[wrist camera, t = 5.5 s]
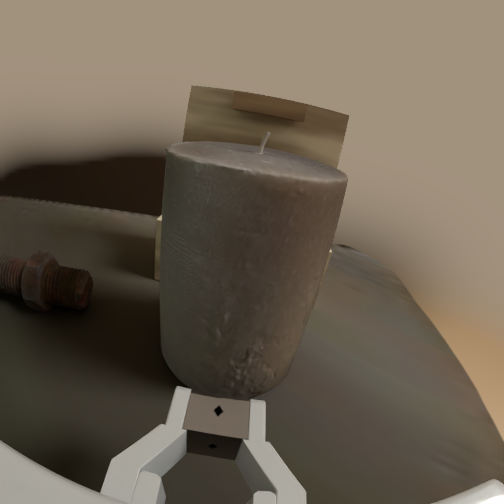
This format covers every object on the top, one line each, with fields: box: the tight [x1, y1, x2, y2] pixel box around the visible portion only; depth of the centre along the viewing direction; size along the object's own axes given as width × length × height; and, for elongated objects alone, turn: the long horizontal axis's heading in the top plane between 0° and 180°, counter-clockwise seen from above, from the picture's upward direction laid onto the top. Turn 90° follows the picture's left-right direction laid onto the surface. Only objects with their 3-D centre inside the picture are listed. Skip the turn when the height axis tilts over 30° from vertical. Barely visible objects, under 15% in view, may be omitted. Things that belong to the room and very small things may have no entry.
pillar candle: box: [159, 132, 348, 398], centre depth 18 cm, size 10×10×15 cm
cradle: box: [155, 86, 349, 308], centre depth 27 cm, size 9×16×18 cm, turn 87°
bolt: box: [0, 251, 93, 312], centre depth 19 cm, size 6×5×15 cm
